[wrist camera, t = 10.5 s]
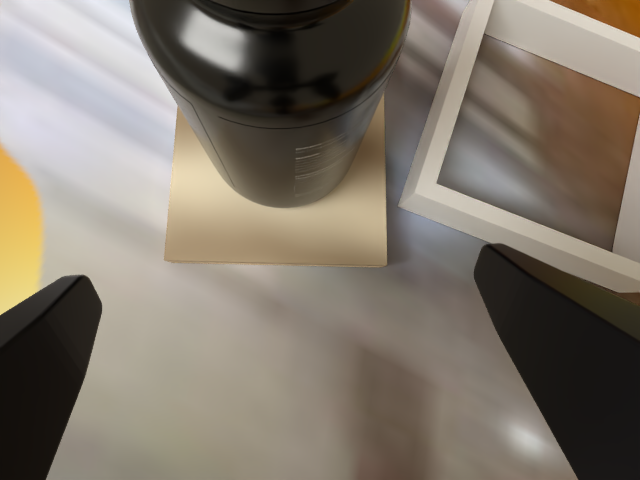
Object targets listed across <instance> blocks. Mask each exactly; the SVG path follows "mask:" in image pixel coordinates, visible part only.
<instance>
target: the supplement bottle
mask: <svg viewBox="0 0 640 480" xmlns="http://www.w3.org/2000/svg"><path fill="white" fill-rule="evenodd" d="M129 3H130V8H131V13H132V17H133V20H134V24H135V27H136V30H137V32H138V35H139V37H140V39H141V41H142V44H143V46H144V48H145V49H146V51H147V53H148V55H149V57H150V59H151V61H152V63H153V64H154V66H155V68H156V70H157V71H158V73H159V75H160V76H161V78H162V80H163V81H164V83H165V85H166V86H167V88H168V90H169V91H170V93H171V95H172V96H173V98H174V100H175V101H176V103H177V105H178V107H179V108H180V110H181V112H182V113H183V115H184V117H185V118H186V120H187V122H188V123H189V125H190V127H191V128H192V130H193V132H194V133H195V135H196V137H197V138H198V140H199V142H200V143H201V145H202V147H203V148H204V150H205V152H206V153H207V155H208V157H209V158H210V160H211V162H212V163H213V165H214V167H215V168H216V170H217V171H218V173H219V174H220V176H221V177H222V178H223V179H224V181H225V182H226V183H227V184H228V185H229V186H230V187H231V188H232V189H233V190H234V191H236V192H237V193H238V194H239V195H241V196H243V197H244V198H246V199H248V200H250V201H252V202H254V203H257V204H260V205H263V206H267V207H273V208H295V207H300V206H305V205H308V204H311V203H313V202H315V201H318V200H319V199H321V198H323V197H325V196H326V195H328V194H329V193H330V192H331V191H333V190H334V189H335V188H336V187H337V186H338V185H339V184H340V182H341V181H342V180H343V179H344V177H345V176H346V174H347V172H348V171H349V169H350V167H351V165H352V163H353V161H354V159H355V157H356V154H357V152H358V150H359V148H360V145H361V143H362V141H363V138H364V136H365V134H366V132H367V129H368V127H369V125H370V123H371V120H372V118H373V116H374V114H375V111H376V109H377V107H378V104H379V102H380V100H381V98H382V95H383V93H384V91H385V89H386V86H387V84H388V82H389V79H390V77H391V75H392V73H393V70H394V68H395V66H396V64H397V61H398V59H399V56H400V53H401V51H402V48H403V45H404V42H405V39H406V36H407V33H408V29H409V25H410V18H411V9H412V0H129Z"/></svg>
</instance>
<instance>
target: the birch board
mask: <svg viewBox="0 0 640 480" xmlns="http://www.w3.org/2000/svg"><path fill="white" fill-rule="evenodd" d="M164 260H165V261H168V262H172V263H204V264H248V265H292V266H337V267H383V266H387V230H386V175H385V120H384V93H383V95H382V98H381V100H380V102H379V104H378V107H377V109H376V111H375V114H374V116H373V118H372V120H371V123H370V125H369V127H368V129H367V132H366V134H365V136H364V138H363V141H362V143H361V145H360V148H359V150H358V152H357V154H356V157H355V159H354V161H353V163H352V165H351V167H350V169H349V171H348V172H347V174H346V176H345V177H344V179H343V180H342V181H341V182H340V184H339V185H338V186H337V187H336V188H335V189H334V190H333V191H331V192H330V193H329V194H328V195H326V196H325V197H323V198H321V199H319V200H318V201H315V202H313V203H311V204H308V205H305V206H300V207H295V208H273V207H267V206H263V205H260V204H257V203H254V202H252V201H250V200H248V199H246V198H244V197H243V196H241V195H239V194H238V193H237V192H236V191H234V190H233V189H232V188H231V187H230V186H229V185H228V184H227V183H226V182H225V181H224V179H223V178H222V177H221V176H220V174H219V173H218V171H217V170H216V168H215V167H214V165H213V163H212V162H211V160H210V158H209V157H208V155H207V153H206V152H205V150H204V148H203V147H202V145H201V143H200V142H199V140H198V138H197V137H196V135H195V133H194V132H193V130H192V128H191V127H190V125H189V123H188V122H187V120H186V118H185V117H184V115H183V113H182V112H181V110H180V108H179V107H178V108H177V119H176V130H175V142H174V153H173V164H172V175H171V187H170V198H169V209H168V220H167V231H166V243H165V254H164Z"/></svg>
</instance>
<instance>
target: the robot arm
mask: <svg viewBox="0 0 640 480" xmlns="http://www.w3.org/2000/svg"><path fill="white" fill-rule="evenodd" d="M474 279H475V282H476V284H477V287H478V289H479V291H480V294H481V296H482V298H483V301H484V303H485V306H486V308H487V310H488V313H489V315H490V317H491V320H492V322H493V324H494V327H495V329H496V331H497V333H498V335H499V337H500V339H501V341H502V343H503V345H504V346H505V348H506V350H507V352H508V354H509V355H510V357H511V359H512V361H513V363H514V364H515V366H516V368H517V370H518V372H519V373H520V375H521V377H522V379H523V381H524V382H525V384H526V386H527V388H528V390H529V391H530V393H531V395H532V397H533V399H534V401H535V402H536V404H537V406H538V408H539V410H540V411H541V413H542V415H543V417H544V419H545V420H546V422H547V424H548V426H549V428H550V429H551V431H552V433H553V435H554V437H555V438H556V440H557V442H558V444H559V446H560V447H561V449H562V451H563V453H564V455H565V456H566V458H567V460H568V462H569V464H570V465H571V467H572V469H573V471H574V473H575V474H576V476H577V478H578V480H640V306H638V305H636V304H634V303H632V302H630V301H628V300H625V299H623V298H621V297H619V296H617V295H614V294H612V293H610V292H608V291H606V290H604V289H601V288H599V287H597V286H595V285H593V284H590V283H588V282H586V281H584V280H582V279H579V278H577V277H575V276H573V275H571V274H569V273H566V272H564V271H562V270H560V269H558V268H555V267H553V266H551V265H549V264H547V263H544V262H542V261H540V260H538V259H536V258H534V257H531V256H529V255H527V254H525V253H523V252H520V251H518V250H516V249H514V248H512V247H509V246H507V245H505V244H502V243H494V244H486V245H484V246H483V247H482V249H481V251H480V254H479V257H478V260H477V263H476V266H475V269H474ZM101 314H102V303H101V300H100V298H99V296H98V294H97V292H96V290H95V288H94V286H93V284H92V283H91V281H90V279H89V278H88V277H87V276H86V275H70V276H64V277H61V278H60V279H58V280H56V281H55V282H53V283H51V284H50V285H48V286H47V287H45V288H43V289H42V290H40V291H38V292H37V293H35V294H34V295H32V296H30V297H29V298H27V299H26V300H24V301H22V302H21V303H19V304H18V305H16V306H14V307H13V308H11V309H9V310H8V311H6V312H5V313H3V314H1V315H0V480H46V478H47V475H48V473H49V470H50V467H51V465H52V462H53V460H54V457H55V454H56V452H57V449H58V447H59V444H60V441H61V439H62V436H63V433H64V431H65V428H66V426H67V423H68V420H69V418H70V415H71V413H72V410H73V407H74V405H75V402H76V400H77V397H78V394H79V392H80V389H81V386H82V384H83V381H84V378H85V375H86V371H87V368H88V364H89V360H90V357H91V353H92V349H93V345H94V341H95V337H96V333H97V329H98V326H99V322H100V318H101Z"/></svg>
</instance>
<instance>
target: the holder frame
mask: <svg viewBox="0 0 640 480" xmlns="http://www.w3.org/2000/svg"><path fill="white" fill-rule="evenodd" d="M483 34H486V35H489V36H491V37H494V38H496V39H499V40H501V41H504V42H506V43H508V44H511V45H513V46H516V47H518V48H521V49H523V50H526V51H528V52H530V53H533V54H535V55H538V56H540V57H543V58H545V59H548V60H550V61H552V62H555V63H557V64H560V65H562V66H565V67H567V68H570V69H572V70H574V71H577V72H579V73H582V74H584V75H587V76H589V77H592V78H594V79H596V80H599V81H601V82H604V83H606V84H609V85H611V86H614V87H616V88H618V89H621V90H623V91H626V92H628V93H631V94H633V95H636V96H638V97H640V38H638V37H636V36H633V35H631V34H629V33H626V32H624V31H621V30H619V29H617V28H614V27H612V26H609V25H607V24H604V23H602V22H600V21H597V20H595V19H592V18H590V17H588V16H585V15H583V14H580V13H578V12H576V11H573V10H571V9H568V8H566V7H564V6H561V5H559V4H556V3H554V2H551V1H549V0H470V2H469V3H468V5H467V7H466V8H465V10H464V11H463V14H462V16H461V19H460V22H459V25H458V28H457V31H456V34H455V37H454V40H453V43H452V46H451V49H450V52H449V55H448V58H447V61H446V64H445V67H444V70H443V73H442V76H441V79H440V82H439V85H438V88H437V91H436V94H435V97H434V100H433V103H432V106H431V109H430V112H429V115H428V117H427V120H426V123H425V126H424V129H423V132H422V135H421V138H420V141H419V144H418V147H417V150H416V153H415V156H414V159H413V162H412V165H411V168H410V171H409V174H408V177H407V180H406V183H405V186H404V189H403V192H402V195H401V198H400V201H399V204H398V207H400V208H402V209H405V210H407V211H410V212H412V213H415V214H418V215H420V216H423V217H425V218H428V219H430V220H433V221H436V222H438V223H441V224H443V225H446V226H448V227H451V228H454V229H456V230H459V231H461V232H464V233H467V234H469V235H472V236H474V237H477V238H479V239H482V240H485V241H487V242H490V243H492V244H494V243H502V244H505V245H507V246H509V247H512V248H514V249H516V250H518V251H520V252H523V253H525V254H527V255H529V256H531V257H534V258H536V259H538V260H540V261H542V262H544V263H547V264H549V265H551V266H553V267H555V268H558V269H560V270H562V271H564V272H567V273H569V274H572V275H575V276H577V277H580V278H582V279H585V280H587V281H590V282H593V283H595V284H598V285H600V286H603V287H605V288H608V289H611V290H613V291H616V292H618V293H622V292H640V116H639V121H638V125H637V130H636V135H635V140H634V145H633V150H632V155H631V160H630V165H629V170H628V175H627V180H626V185H625V190H624V195H623V200H622V204H621V209H620V214H619V219H618V224H617V229H616V234H615V239H614V244H613V249H612V252H609V251H607V250H604V249H602V248H599V247H597V246H594V245H592V244H589V243H587V242H584V241H581V240H579V239H576V238H574V237H571V236H569V235H566V234H564V233H561V232H558V231H556V230H553V229H551V228H548V227H546V226H543V225H541V224H538V223H536V222H533V221H530V220H528V219H525V218H523V217H520V216H518V215H515V214H513V213H510V212H507V211H505V210H502V209H500V208H497V207H495V206H492V205H490V204H487V203H485V202H482V201H479V200H477V199H474V198H472V197H469V196H467V195H464V194H462V193H459V192H457V191H454V190H451V189H449V188H446V187H444V186H441V185H439V184H436V182H437V179H438V176H439V172H440V169H441V166H442V163H443V160H444V157H445V154H446V150H447V147H448V144H449V141H450V138H451V135H452V132H453V128H454V125H455V122H456V119H457V116H458V113H459V110H460V106H461V103H462V100H463V97H464V94H465V91H466V88H467V84H468V81H469V78H470V75H471V72H472V69H473V66H474V62H475V59H476V56H477V53H478V50H479V47H480V44H481V40H482V37H483Z"/></svg>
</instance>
